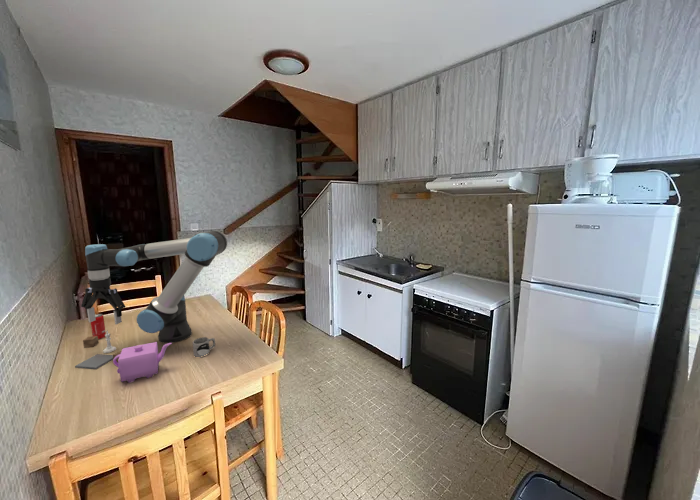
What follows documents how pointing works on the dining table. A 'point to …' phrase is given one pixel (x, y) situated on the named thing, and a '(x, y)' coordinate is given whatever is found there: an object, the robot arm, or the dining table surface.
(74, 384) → the dining table surface
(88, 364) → the coaster
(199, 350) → the mug
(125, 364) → the teapot
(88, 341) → the walnut cube
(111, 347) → the chess piece
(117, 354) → the walnut cube
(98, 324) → the beverage can
